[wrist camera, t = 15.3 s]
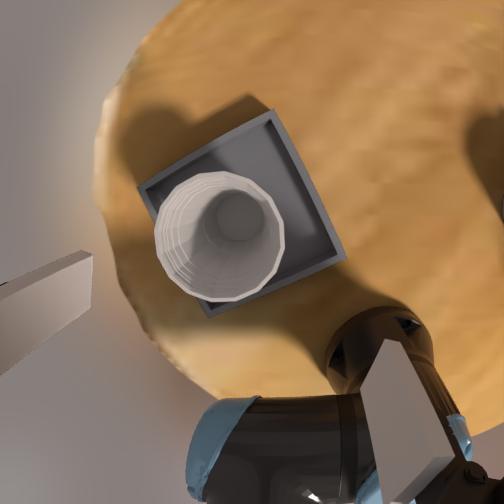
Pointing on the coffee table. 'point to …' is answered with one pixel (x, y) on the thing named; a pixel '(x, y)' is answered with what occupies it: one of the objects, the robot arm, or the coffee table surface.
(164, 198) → the bin
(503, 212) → the coffee mug
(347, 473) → the robot arm
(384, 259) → the coffee table surface
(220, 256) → the plastic cup
